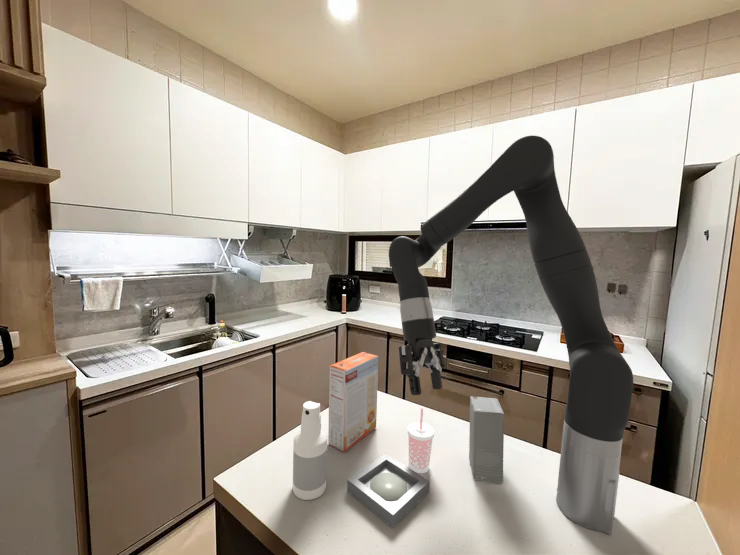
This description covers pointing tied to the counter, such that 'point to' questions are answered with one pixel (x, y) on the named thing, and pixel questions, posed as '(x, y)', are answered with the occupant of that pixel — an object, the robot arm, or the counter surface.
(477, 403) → the skincare box
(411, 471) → the coaster tray
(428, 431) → the beverage cup
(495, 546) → the counter surface
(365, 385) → the cracker box
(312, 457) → the spray bottle
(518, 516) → the counter surface
